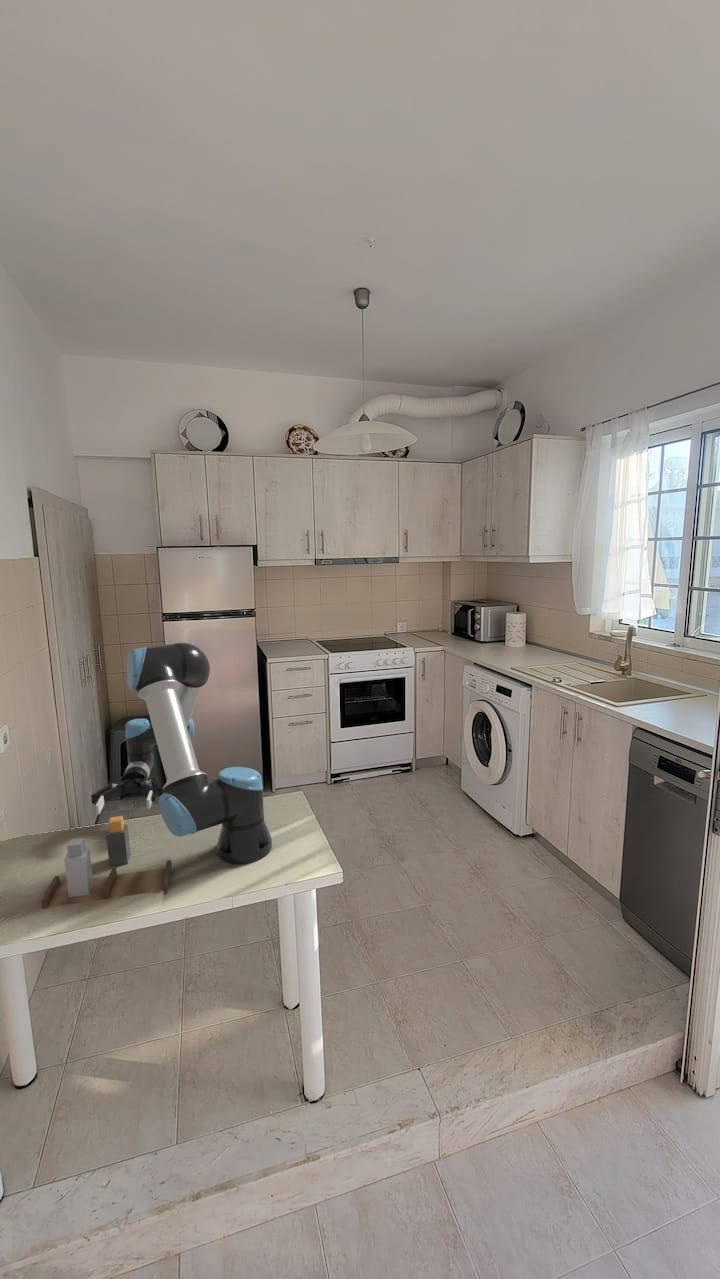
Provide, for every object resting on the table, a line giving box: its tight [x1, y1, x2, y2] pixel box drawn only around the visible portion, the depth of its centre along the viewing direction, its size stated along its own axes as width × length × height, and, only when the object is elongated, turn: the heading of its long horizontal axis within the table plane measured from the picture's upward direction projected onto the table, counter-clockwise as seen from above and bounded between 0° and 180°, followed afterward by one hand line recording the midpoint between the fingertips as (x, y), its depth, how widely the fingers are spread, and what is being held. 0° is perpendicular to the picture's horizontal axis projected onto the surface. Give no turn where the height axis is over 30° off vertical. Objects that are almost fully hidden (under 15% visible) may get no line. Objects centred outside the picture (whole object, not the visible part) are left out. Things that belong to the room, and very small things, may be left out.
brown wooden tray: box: [41, 859, 173, 909], centre depth 137 cm, size 28×10×3 cm, turn 103°
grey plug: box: [63, 837, 94, 898], centre depth 135 cm, size 4×4×13 cm
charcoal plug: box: [105, 815, 131, 867], centre depth 148 cm, size 4×4×13 cm
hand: (123, 807), depth 157 cm, fingers open, 13 cm apart
